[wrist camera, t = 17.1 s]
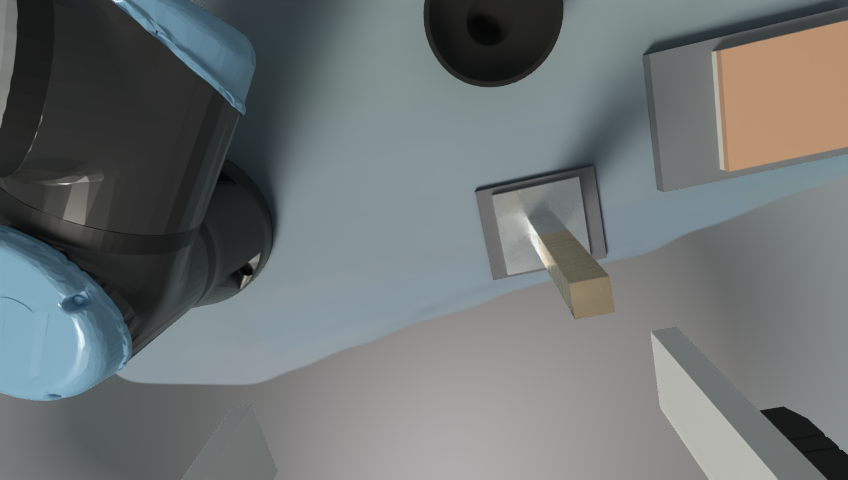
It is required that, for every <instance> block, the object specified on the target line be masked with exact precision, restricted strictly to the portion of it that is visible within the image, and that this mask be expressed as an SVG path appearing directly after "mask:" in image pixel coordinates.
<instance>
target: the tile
mask: <svg viewBox="0 0 848 480" xmlns="http://www.w3.org/2000/svg"><path fill="white" fill-rule="evenodd" d="M712 66H713V79H714V93H715V107H716V120H717V134H718V147H719V161H720V169H721V170H725V171H729V172H730V171H735V170H740V169H744V168H749V167H754V166H759V165H763V164H768V163H773V162H778V161H782V160H787V159H792V158H797V157H801V156H806V155H811V154H816V153H820V152H825V151H830V150H835V149H839V148H844V147H848V20H845V21H840V22H836V23H831V24H827V25H823V26H819V27H815V28H810V29H806V30H802V31H798V32H794V33H789V34H785V35H781V36H777V37H772V38H768V39H764V40H760V41H756V42H751V43H747V44H743V45H739V46H735V47H730V48H726V49H722V50H718V51H713V52H712Z"/></svg>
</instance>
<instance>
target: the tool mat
mask: <svg viewBox="0 0 848 480" xmlns="http://www.w3.org/2000/svg"><path fill="white" fill-rule="evenodd" d="M575 176H578V177H579V181H580V187H581V194H582V201H583V207H584V214H585V221H586V227H587V234H588V241H589V247H590V254H591V256H592V257H593V258H594V259H595V260H598V259H603V258H607V257H606V250H605V243H604V236H603V229H602V221H601V214H600V207H599V200H598V193H597V186H596V179H595V172H594V166H587V167H583V168H578V169H574V170H569V171H565V172H560V173H555V174H551V175H546V176H542V177H537V178H532V179H528V180H523V181H519V182H514V183H510V184H505V185H500V186H496V187H491V188H487V189H482V190H478V191H475V193H476V198H477V203H478V208H479V213H480V218H481V222H482V227H483V232H484V237H485V242H486V247H487V251H488V256H489V261H490V266H491V271H492V275H493V280H496V279H501V278H507V277H512V276H517V275H522V274H527V273H532V272H537V271H542V270H547V269H546V268H542V269H537V270H532V271H527V272H522V273H516V274H511V275H508V274H507V270H506V265H505V260H504V255H503V250H502V245H501V240H500V235H499V230H498V225H497V220H496V215H495V210H494V205H493V200H492V194H496V193H501V192H505V191H510V190H515V189H519V188H524V187H528V186H533V185H538V184H542V183H547V182H551V181H556V180H561V179H565V178H570V177H575Z"/></svg>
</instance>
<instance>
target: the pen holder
mask: <svg viewBox="0 0 848 480" xmlns="http://www.w3.org/2000/svg"><path fill="white" fill-rule="evenodd" d="M562 20H563V0H425V3H424V26H425V32H426V36H427V39H428V42H429V45H430V47H431V49H432V51H433V53H434V55H435V56H436V58H437V60H438V61H439V62H440V64H441V65H442V66H443V67H444V68H445V69H446V70H447V71H448V72H449V73H450V74H452V75H453V76H454V77H456V78H457V79H459V80H461V81H463V82H465V83H468V84H471V85H475V86H480V87H499V86H504V85H508V84H511V83H514V82H517V81H519V80H521V79H523V78H525V77H526V76H528V75H529V74H531V73H532V72H533V71H535V70H536V69H537V68H538V67H539V66H540V65H541V64H542V63H543V62H544V61H545V59H546V58H547V57H548V55H549V54H550V52H551V51H552V49H553V47H554V45H555V43H556V41H557V39H558V36H559V33H560V29H561V26H562Z"/></svg>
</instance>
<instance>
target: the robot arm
mask: <svg viewBox="0 0 848 480" xmlns="http://www.w3.org/2000/svg"><path fill="white" fill-rule="evenodd" d="M255 67H256V55H255V52H254V49H253V47H252V44H251V43H250V41H249V40H248V38H247V37H246V36H245V35H244V34H243V33H241V32H240V31H239V30H237V29H236V28H234V27H232V26H231V25H229V24H228V23H226V22H224V21H223V20H221V19H219V18H218V17H216V16H214V15H213V14H211V13H210V12H208V11H206V10H205V9H203V8H201V7H200V6H198V5H196V4H195V3H193V2H191V1H190V0H0V392H1V393H4V394H7V395H11V396H14V397H18V398H24V399H30V400H57V399H61V398H63V397H69V396H74V395H77V394H80V393H82V392H84V391H86V390H88V389H90V388H91V387H93V386H94V385H96V384H97V383H99V382H101V381H102V380H104V379H106V378H107V377H109V376H111V375H113V374H115V373H116V372H118V371H119V370H121V369H122V368H123V367H124V366H125V365H126V364H127V362H128V361H129V360H130V359H131V358H132V357H133V356H135V355H136V354H137V353H138V352H139V351H141V350H142V349H143V348H144V347H145V346H147V345H148V344H149V343H150V342H151V341H153V340H154V339H155V338H156V337H157V336H159V335H160V334H161V333H162V332H163V331H165V330H166V329H167V328H168V327H169V326H171V325H172V324H173V323H174V322H175V321H177V320H178V319H179V318H180V317H181V316H183V315H184V314H185V313H186V312H187V311H189V310H190V309H191V308H194V307H199V306H204V305H209V304H214V303H218V302H221V301H224V300H226V299H228V298H230V297H232V296H234V295H236V294H237V293H239V292H240V291H242V290H243V289H244V288H245V287H246V286H248V285H249V284H250V283H251V282H252V281H253V280H254V279H255V278H256V277H257V276H258V275H259V273H260V272H261V271H262V269H263V268H264V266H265V264H266V262H267V260H268V257H269V254H270V251H271V246H272V236H273V231H272V222H271V217H270V213H269V210H268V207H267V204H266V202H265V200H264V198H263V196H262V194H261V193H260V191H259V189H258V188H257V187H256V185H255V184H254V183H253V182H252V180H251V179H250V178H249V177H248V176H247V175H246V174H245V173H244V172H243V171H242V170H240V169H239V168H238V167H236V166H235V165H234V164H232V163H230V162H229V161H227V160H225V157H226V155H227V152H228V149H229V146H230V143H231V140H232V138H233V135H234V132H235V129H236V126H237V123H238V121H239V118H240V115H242V116H244V115H245V112H246V107H245V101H246V98H247V94H248V91H249V88H250V84H251V81H252V78H253V74H254V71H255ZM651 338H652V346H653V354H654V362H655V371H656V379H657V387H658V394H659V403H660V408H661V410H662V411H663V413H664V414H665V415H666V417H667V418H668V420H669V421H670V423H671V424H672V426H673V427H674V429H675V430H676V432H677V433H678V435H679V436H680V438H681V439H682V441H683V442H684V443H685V445H686V446H687V448H688V449H689V451H690V452H691V454H692V455H693V457H694V458H695V460H696V461H697V463H698V464H699V466H700V467H701V468H702V470H703V471H704V473H705V474H706V476H707V477H708V479H709V480H848V455H847V454H846V453H845V452H844V451H843V450H840V449H839V447H838V446H837V445H836V444H835V443H834V442H833V441H832V440H831V439H829V438H828V437H825V435H824V433H823V432H822V431H821V430H819V429H818V428H817V427H816V426H815V425H814V424H813V423H811V421H809V420H808V419H807V418H805V417H803V416H801V415H799V414H797V413H795V412H793V411H791V410H789V409H787V408H785V407H778V408H772V409H766V410H760V411H759V410H758V409H757V408H756V407H755V406H754V405H753V404H752V403H751V402H750V401H749V400H748V399H747V398H746V397H745V396H744V395H743V394H742V393H741V392H740V391H739V390H738V389H737V388H736V387H735V386H734V385H733V384H732V383H731V382H730V381H729V380H728V379H727V378H726V377H725V376H724V374H723V373H721V372H720V370H719V369H718V368H716V366H715V365H713V363H712V362H711V361H710V360H709V359H708V358H707V357H706V356H705V355H704V354H703V353H701V351H700V350H699V349H698V348H697V347H696V346H695V345H694V344H693V343H692V342H691V341H690V340H689V339H688V338H687V337H686V336H685V335H684V334H683V333H682V332H681V331H680V330H679V329H678V328H677V327H672V328H666V329H661V330H656V331H651ZM276 473H277V468H276V466H275V463H274V461H273V458H272V455H271V452H270V450H269V447H268V444H267V442H266V439H265V436H264V434H263V431H262V428H261V426H260V423H259V420H258V418H257V415H256V413H255V410H254V407H253V404H250V405H244V406H239V407H233V408H231V409H230V411H229V412H228V413H227V415H226V416H225V418H224V419H223V420H222V422H221V423H220V425H219V426H218V428H217V429H216V430H215V432H214V433H213V435H212V436H211V438H210V439H209V441H208V442H207V443H206V445H205V446H204V448H203V449H202V450H201V452H200V453H199V455H198V456H197V458H196V459H195V460H194V462H193V463H192V465H191V466H190V468H189V469H188V470H187V472H186V473H185V475H184V476H183V478H182V479H181V480H273V479H274V477H275V475H276Z"/></svg>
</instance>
